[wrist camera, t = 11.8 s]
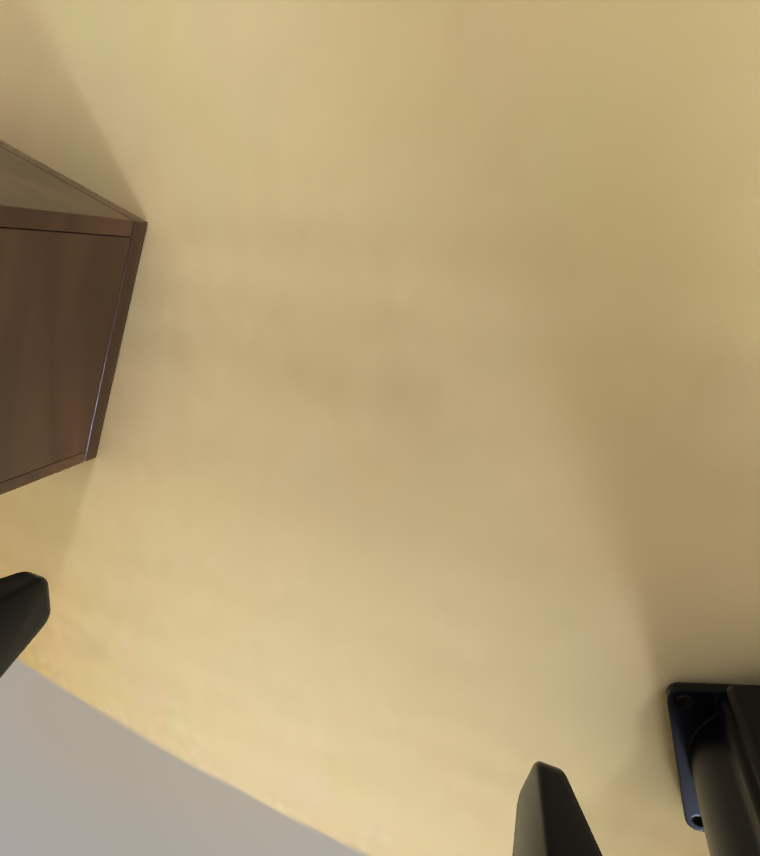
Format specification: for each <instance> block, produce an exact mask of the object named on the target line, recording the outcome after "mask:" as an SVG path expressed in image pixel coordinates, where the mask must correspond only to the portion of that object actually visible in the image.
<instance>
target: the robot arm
mask: <svg viewBox="0 0 760 856" xmlns="http://www.w3.org/2000/svg"><path fill="white" fill-rule="evenodd" d="M49 615H50V599H49V589H48V582H47V580H46V579H45V578H44V577H41V576H39V575H36V574H33V573H31V572H20V573H16V574H13V575H10V576H7V577H4V578H1V579H0V678H1V676H2V675H3V674H4V673H5V672H6V670H7V669H8V668H9V667H10V666H11V664H12V663H13V662H14V661H15V660H16V658H17V657H18V656H19V655H20V654H21V652H22V651H23V650H24V649H25V648H26V646H27V645H28V644H29V643H30V642H31V640H32V639H33V638H34V637H35V636H36V634H37V633H38V632H39V631H40V630H41V628H42V627H43V626H44V625H45V623H46V622H47V620H48V618H49ZM678 696H685V697H687V698H686V699H683V700H681V699H677V697H678ZM666 698H667V704H668V711H669V718H670V724H671V731H672V738H673V744H674V751H675V758H676V764H677V771H678V778H679V784H680V791H681V798H682V804H683V811H684V816H685V820H686V822H687V824H688V825H689V826H690V827H692V828H693V829H695V830H698V831H703V832H705V834H706V838H707V843H708V847H709V851H710V855H711V856H760V686H757V685H732V684H707V683H682V682H678V683H673V684H671V685H669V686H668V687H667V689H666ZM698 816H700V817H698ZM513 856H602V854H601V851H600V849H599V847H598V845H597V843H596V841H595V838H594V836H593V834H592V832H591V830H590V827H589V825H588V823H587V821H586V819H585V816H584V814H583V812H582V810H581V808H580V805H579V803H578V801H577V799H576V797H575V795H574V792H573V790H572V788H571V786H570V784H569V781H568V779H567V777H566V775H565V774H564V772H563V771H562V770H561V769H559V768H557V767H554V766H551V765H549V764H546V763H543V762H539V761H538V762H536V763H535V764H534V765H533V767H532V769H531V771H530V773H529V775H528V777H527V779H526V781H525V783H524V785H523V787H522V789H521V791H520V794H519V798H518V803H517V812H516V823H515V834H514V845H513Z"/></svg>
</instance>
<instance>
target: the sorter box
mask: <svg viewBox="0 0 760 856" xmlns="http://www.w3.org/2000/svg"><path fill="white" fill-rule="evenodd" d="M146 226H147V222H146V221H144V220H142V219H140V218H138V217H137V216H135V215H133V214H131V213H129V212H128V211H126V210H124V209H122V208H120V207H119V206H117V205H115V204H113V203H111V202H110V201H108V200H106V199H104V198H102V197H101V196H99V195H97V194H95V193H93V192H92V191H90V190H88V189H86V188H84V187H83V186H81V185H79V184H77V183H75V182H74V181H72V180H70V179H68V178H66V177H65V176H63V175H61V174H59V173H57V172H56V171H54V170H52V169H50V168H48V167H47V166H45V165H43V164H41V163H39V162H38V161H36V160H34V159H32V158H30V157H29V156H27V155H25V154H23V153H21V152H20V151H18V150H16V149H14V148H12V147H11V146H9V145H7V144H5V143H3V142H2V141H0V495H1V494H3V493H6V492H8V491H11V490H14V489H16V488H19V487H21V486H24V485H26V484H29V483H31V482H34V481H37V480H39V479H42V478H44V477H47V476H49V475H52V474H54V473H57V472H60V471H62V470H65V469H67V468H70V467H72V466H75V465H77V464H80V463H83V462H85V461H88V460H90V459H93V458H95V456H96V452H97V447H98V443H99V438H100V434H101V429H102V425H103V420H104V416H105V411H106V407H107V402H108V398H109V393H110V389H111V384H112V380H113V375H114V371H115V366H116V361H117V357H118V352H119V348H120V343H121V339H122V334H123V330H124V325H125V321H126V316H127V312H128V307H129V303H130V298H131V294H132V289H133V285H134V280H135V276H136V271H137V267H138V262H139V258H140V253H141V249H142V244H143V240H144V235H145V231H146Z"/></svg>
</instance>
